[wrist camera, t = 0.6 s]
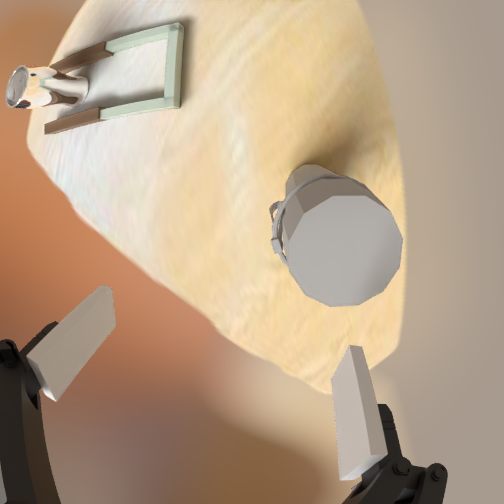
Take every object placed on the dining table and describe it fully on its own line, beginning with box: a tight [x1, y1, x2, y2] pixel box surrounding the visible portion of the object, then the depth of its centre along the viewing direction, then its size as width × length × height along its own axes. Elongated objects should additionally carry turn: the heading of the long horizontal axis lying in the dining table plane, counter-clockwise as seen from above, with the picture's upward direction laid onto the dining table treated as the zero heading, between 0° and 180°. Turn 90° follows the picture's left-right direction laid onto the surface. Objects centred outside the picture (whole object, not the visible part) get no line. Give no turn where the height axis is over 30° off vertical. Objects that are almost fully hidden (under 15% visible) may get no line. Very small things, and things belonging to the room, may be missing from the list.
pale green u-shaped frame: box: [100, 22, 185, 120], centre depth 32 cm, size 14×13×2 cm
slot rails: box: [45, 42, 113, 134], centre depth 33 cm, size 14×14×3 cm
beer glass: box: [5, 65, 89, 109], centre depth 27 cm, size 7×7×15 cm
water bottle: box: [269, 164, 403, 307], centre depth 26 cm, size 9×8×25 cm
